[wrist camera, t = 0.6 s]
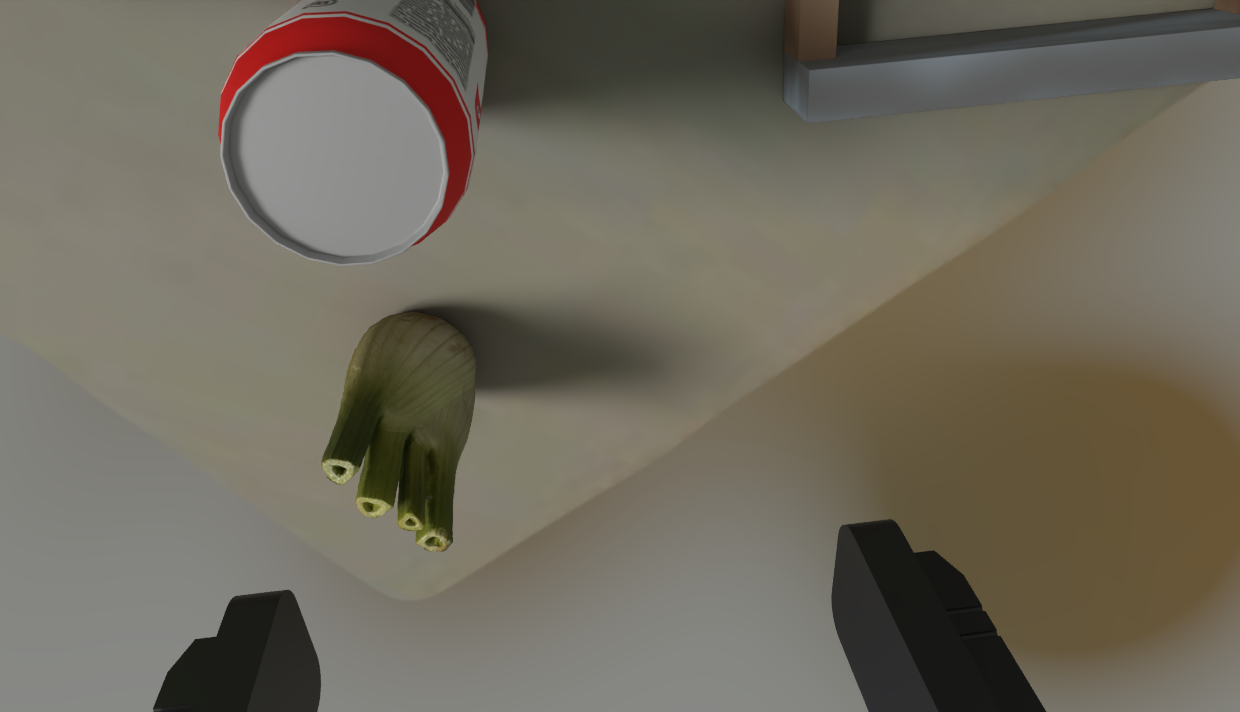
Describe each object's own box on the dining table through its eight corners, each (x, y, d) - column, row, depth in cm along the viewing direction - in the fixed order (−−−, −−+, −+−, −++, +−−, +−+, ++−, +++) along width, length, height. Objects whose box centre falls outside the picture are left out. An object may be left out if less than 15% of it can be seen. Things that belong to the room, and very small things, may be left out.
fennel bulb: (352, 306, 39) (295, 470, 29) (456, 281, 39) (436, 436, 29) (397, 407, 42) (360, 587, 32) (493, 383, 42) (487, 556, 32)
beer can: (521, 29, 34) (528, 155, 20) (424, 145, 36) (370, 332, 22) (389, -94, 31) (294, -44, 18) (292, 39, 33) (138, 177, 19)
